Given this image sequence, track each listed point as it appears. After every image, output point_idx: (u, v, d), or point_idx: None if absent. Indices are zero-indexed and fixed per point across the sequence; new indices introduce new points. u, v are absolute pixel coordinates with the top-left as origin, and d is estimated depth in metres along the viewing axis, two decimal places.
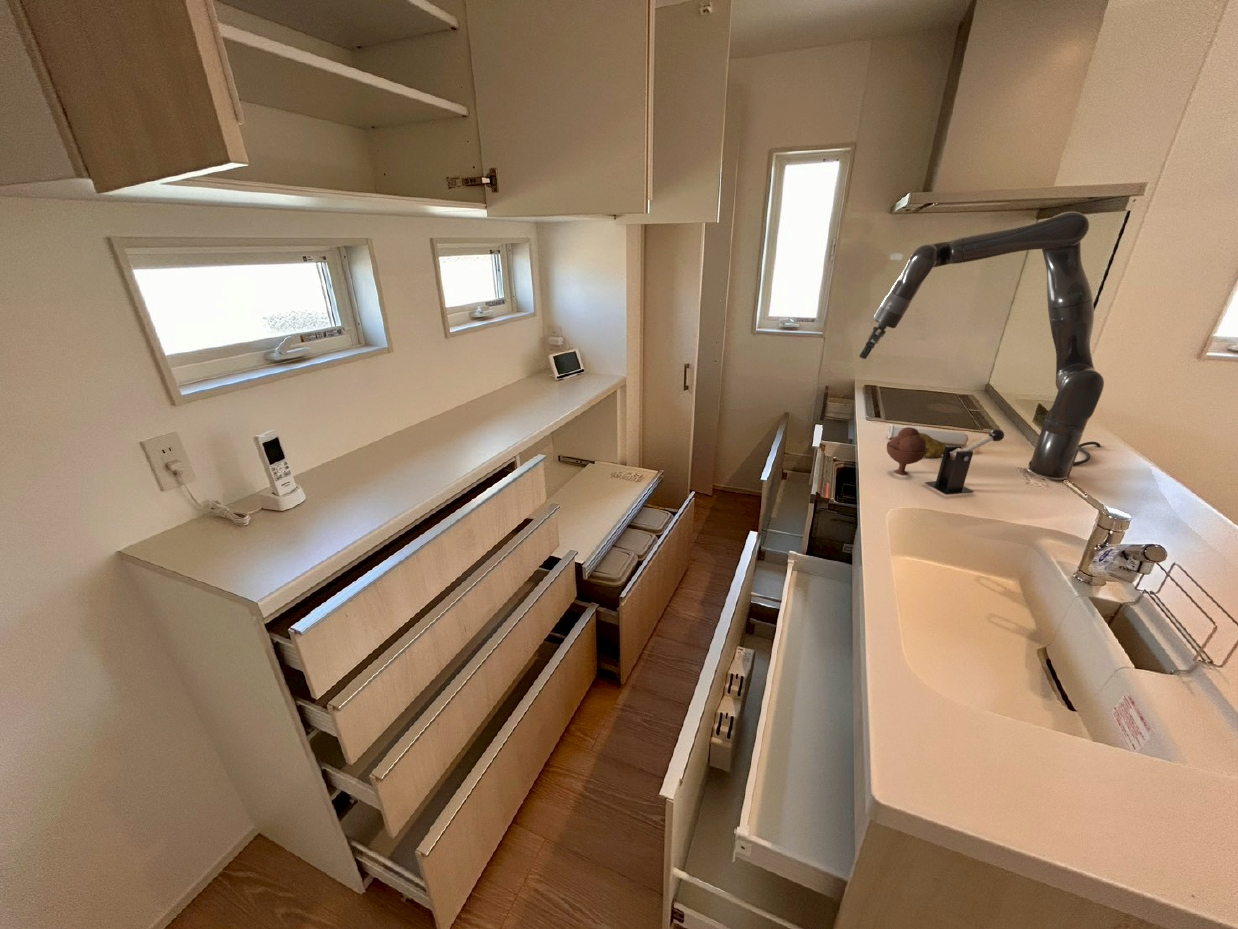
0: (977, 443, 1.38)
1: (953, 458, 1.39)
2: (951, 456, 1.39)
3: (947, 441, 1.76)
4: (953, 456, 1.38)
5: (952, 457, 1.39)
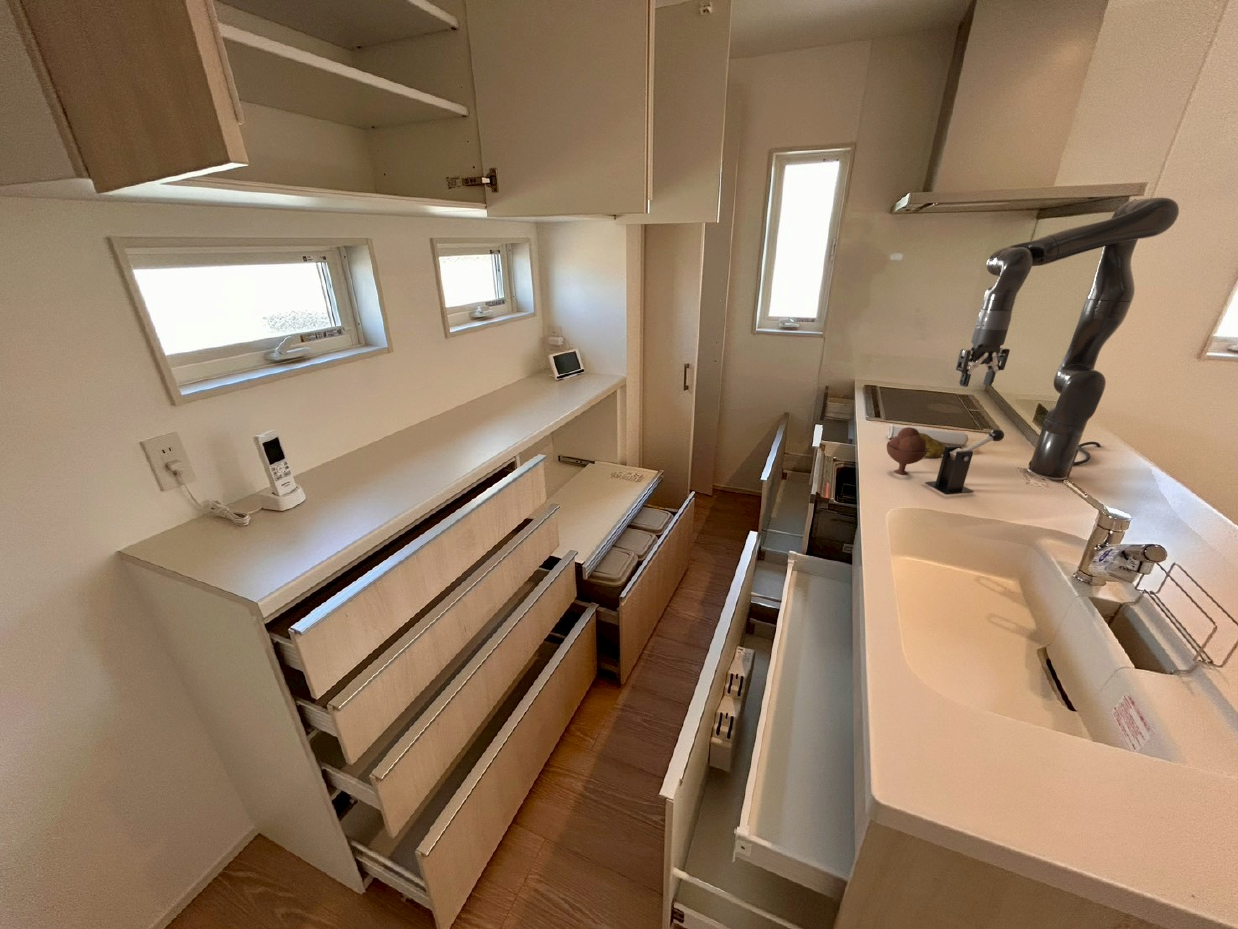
0: (977, 443, 1.38)
1: (953, 458, 1.39)
2: (951, 456, 1.39)
3: (947, 441, 1.76)
4: (953, 456, 1.38)
5: (952, 457, 1.39)
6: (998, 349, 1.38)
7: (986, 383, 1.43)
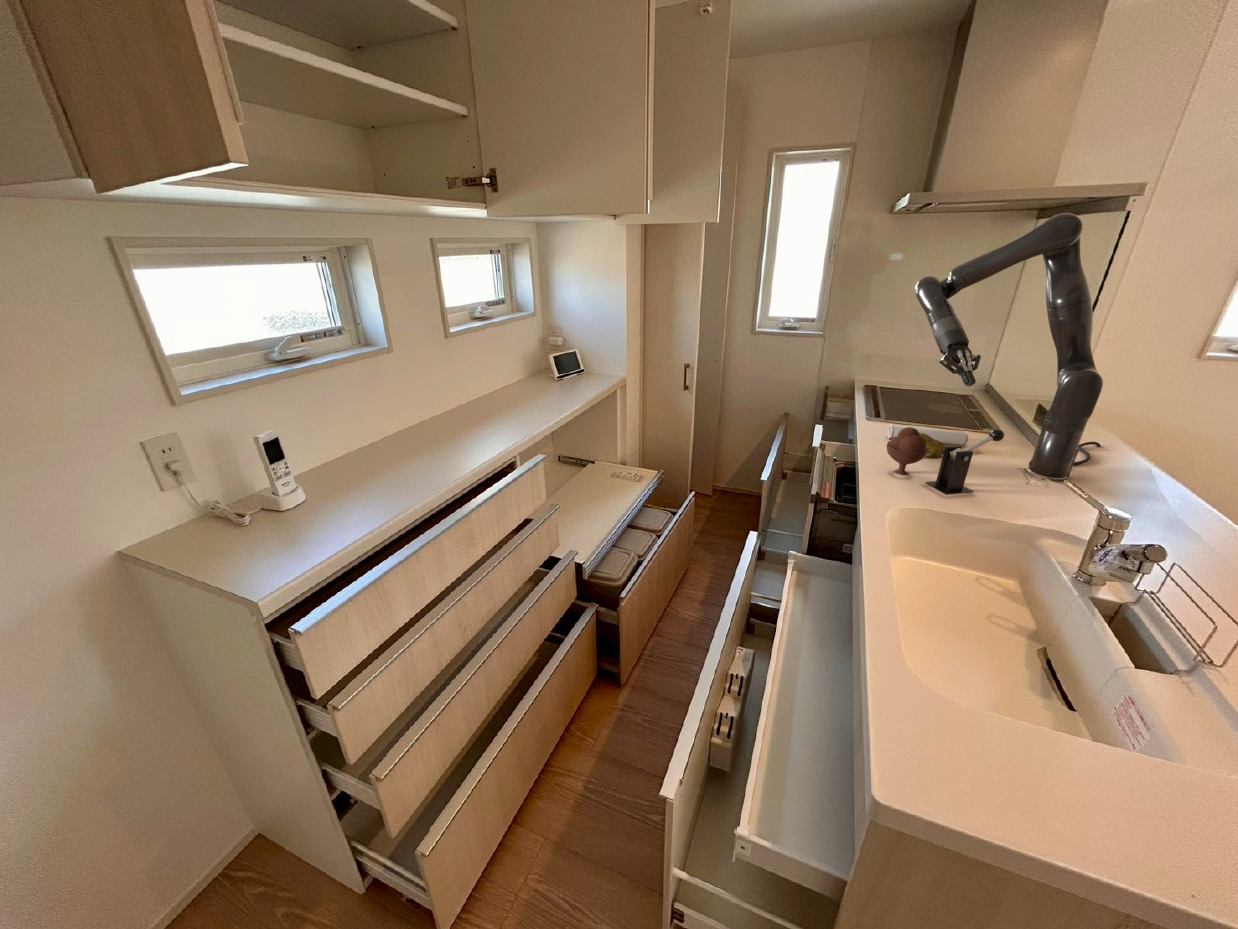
0: (977, 443, 1.38)
1: (953, 458, 1.39)
2: (951, 456, 1.39)
3: (947, 441, 1.76)
4: (953, 456, 1.38)
5: (952, 457, 1.39)
6: (969, 349, 1.47)
7: None
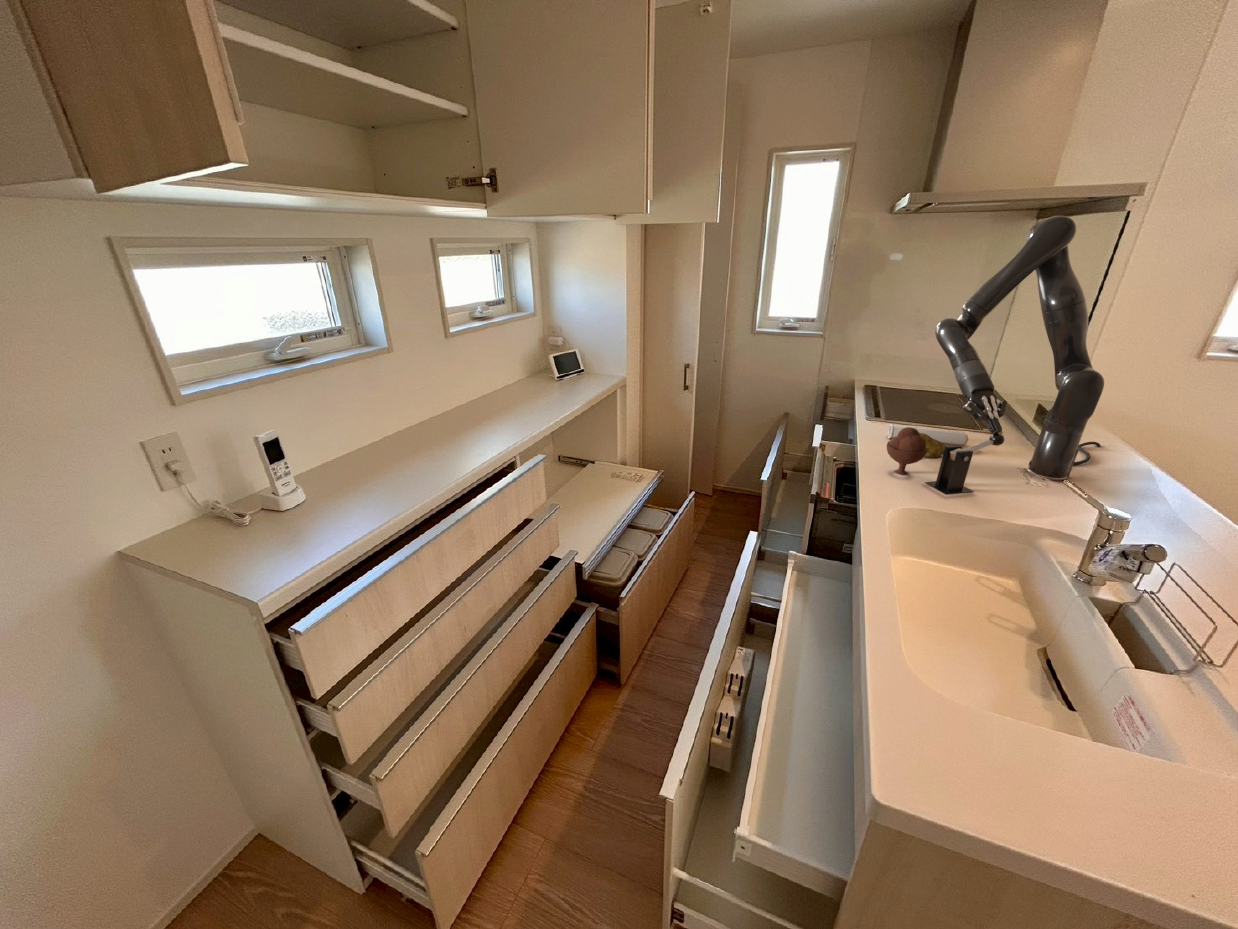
0: (977, 445, 1.38)
1: (953, 458, 1.38)
2: (951, 456, 1.39)
3: (947, 441, 1.76)
4: (953, 455, 1.38)
5: (952, 457, 1.39)
6: (994, 395, 1.42)
7: None
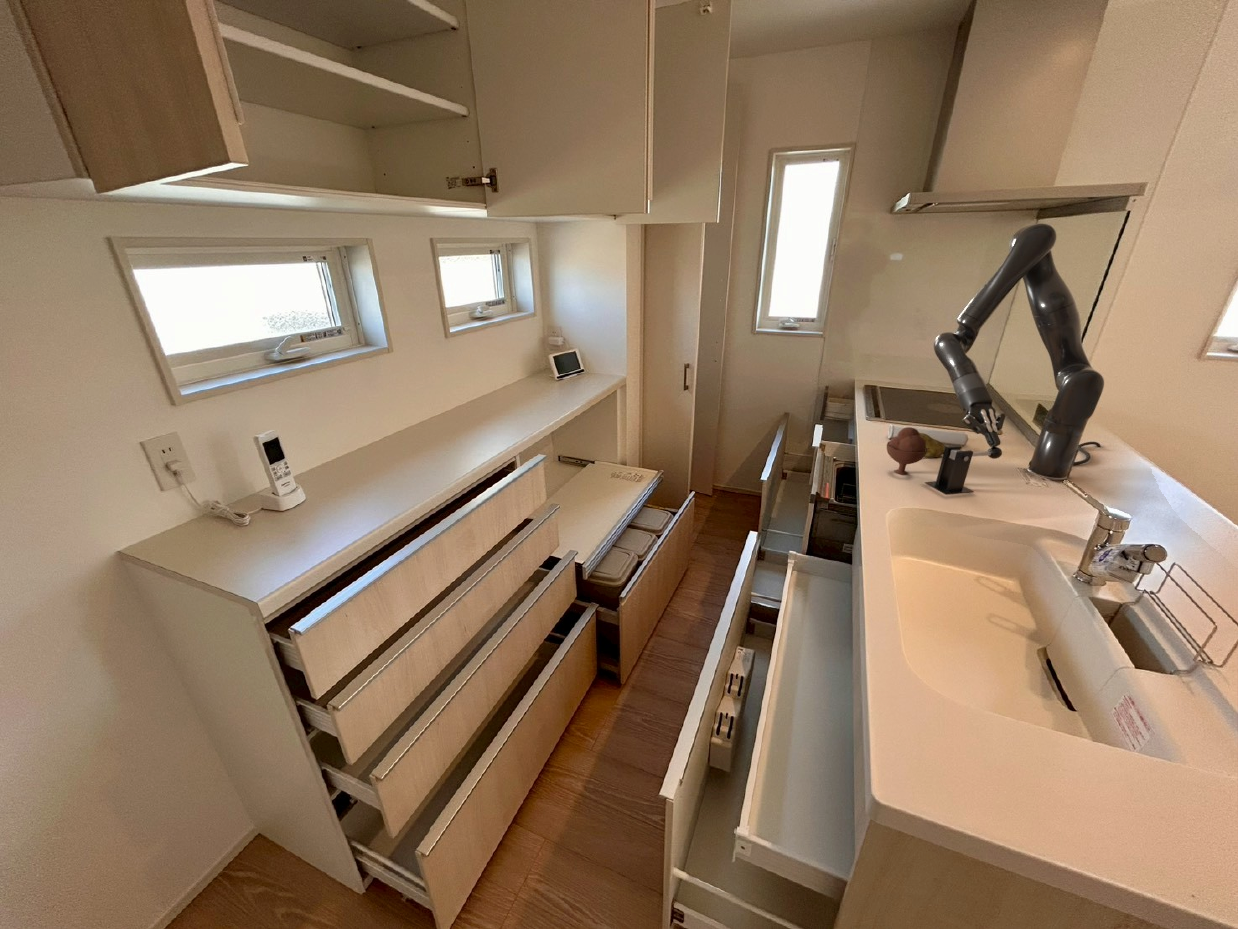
0: (977, 452, 1.39)
1: (953, 456, 1.38)
2: (951, 454, 1.39)
3: (947, 441, 1.76)
4: (954, 454, 1.38)
5: (952, 455, 1.38)
6: (993, 408, 1.43)
7: None
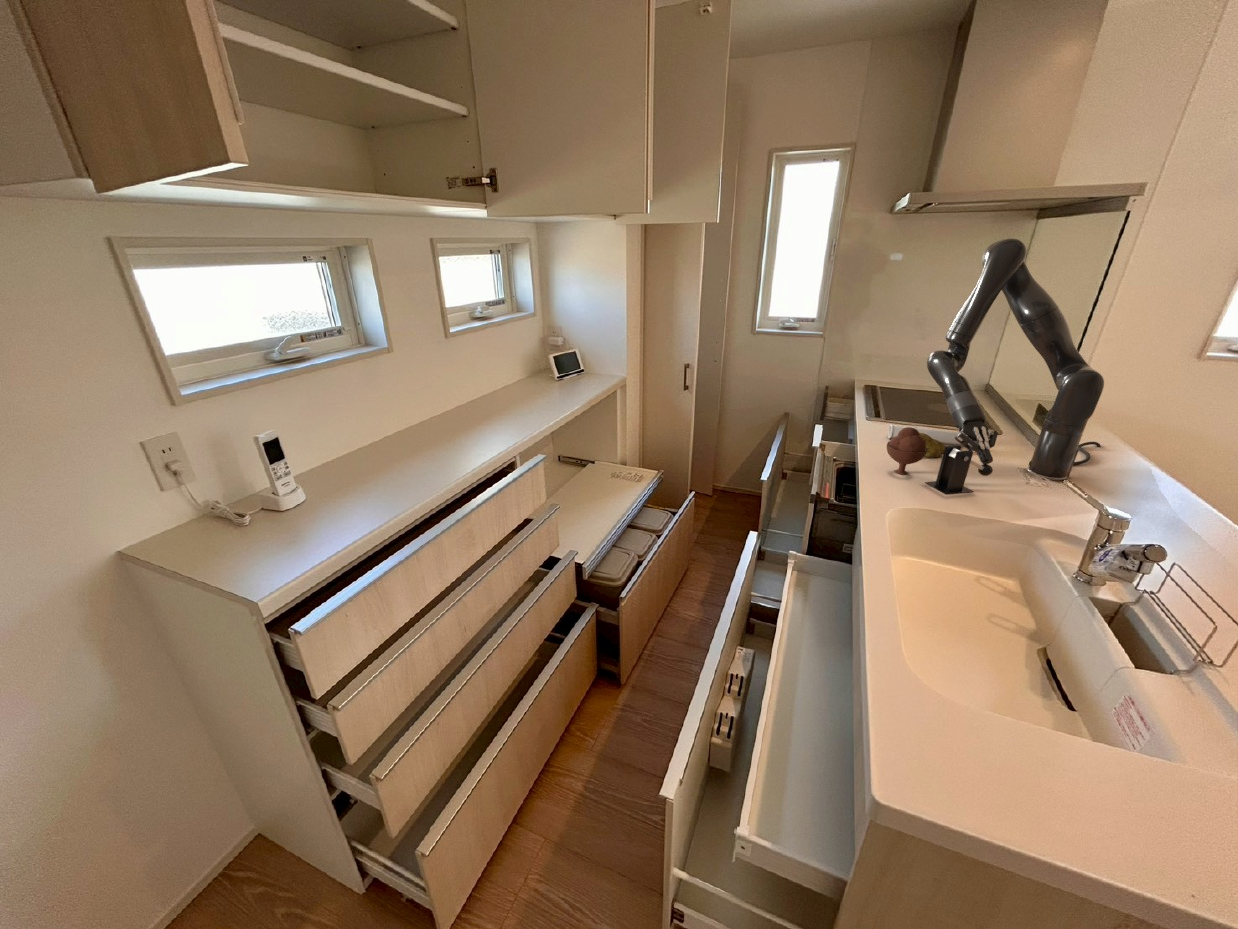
0: (973, 461, 1.40)
1: (953, 454, 1.38)
2: (952, 452, 1.38)
3: (947, 441, 1.76)
4: (955, 452, 1.38)
5: (953, 453, 1.38)
6: (986, 425, 1.45)
7: None
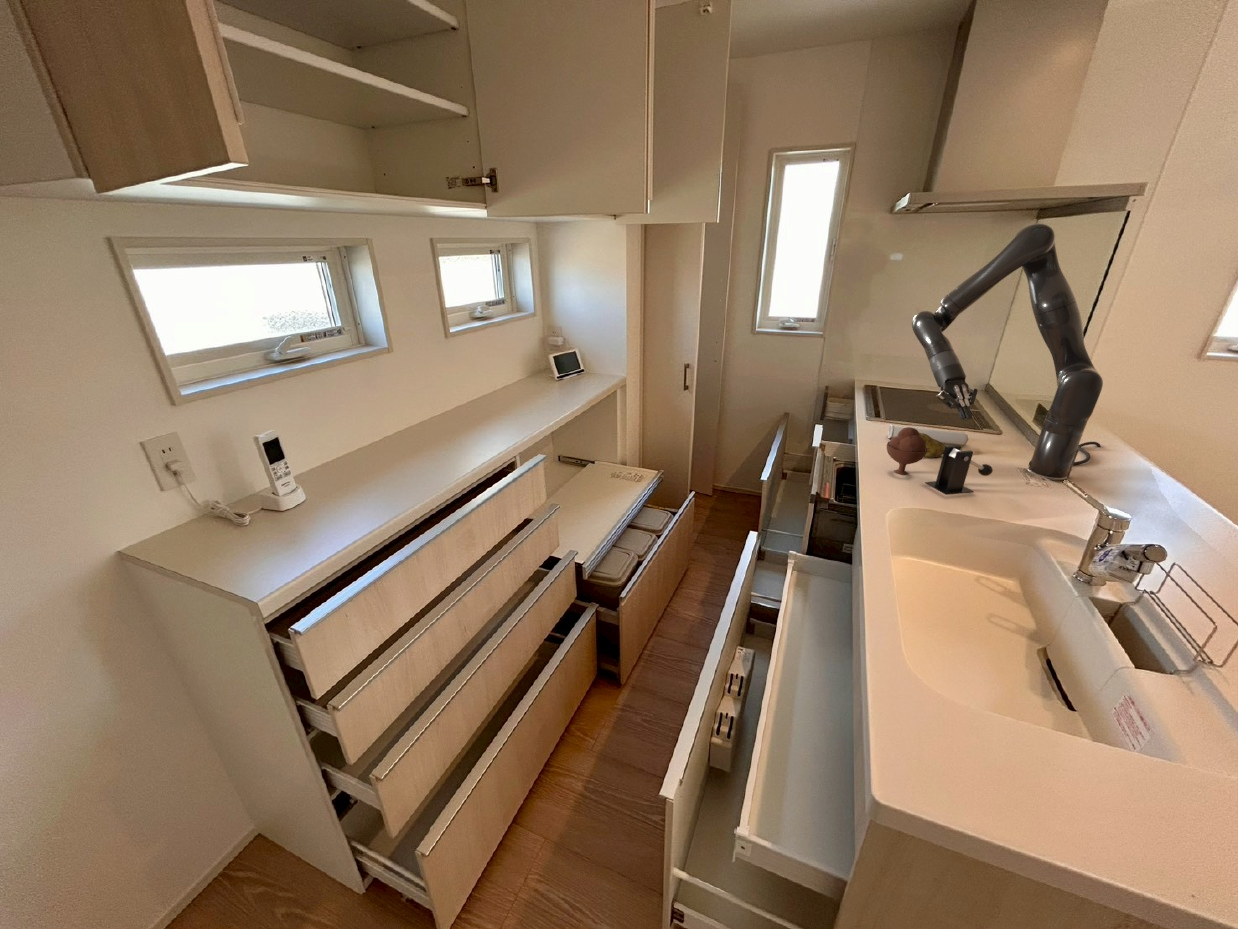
0: (973, 461, 1.40)
1: (953, 454, 1.38)
2: (952, 452, 1.38)
3: (947, 441, 1.76)
4: (955, 452, 1.38)
5: (953, 453, 1.38)
6: (966, 384, 1.51)
7: None
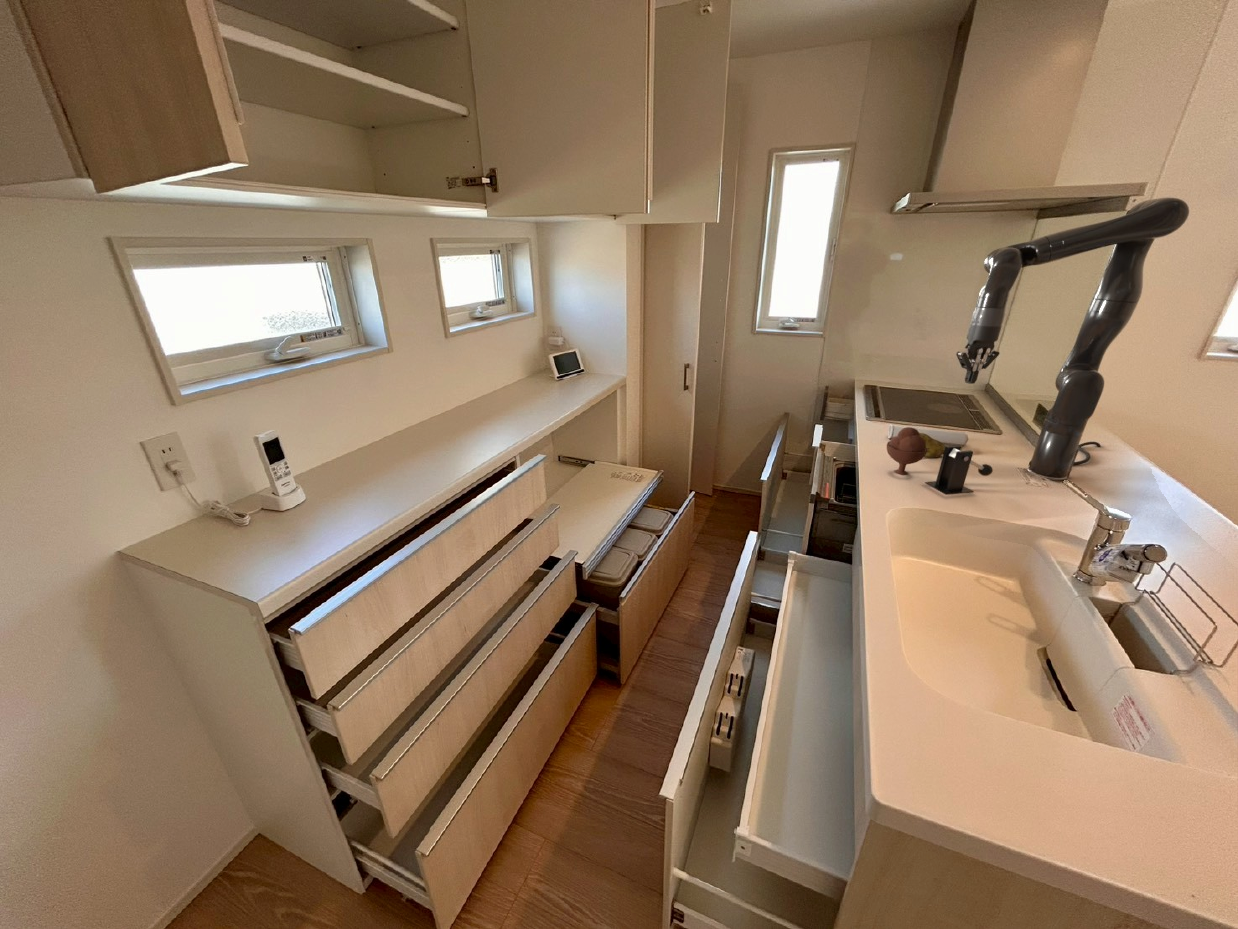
0: (973, 461, 1.40)
1: (953, 454, 1.38)
2: (952, 452, 1.38)
3: (947, 441, 1.76)
4: (955, 452, 1.38)
5: (953, 453, 1.38)
6: (993, 345, 1.44)
7: None
